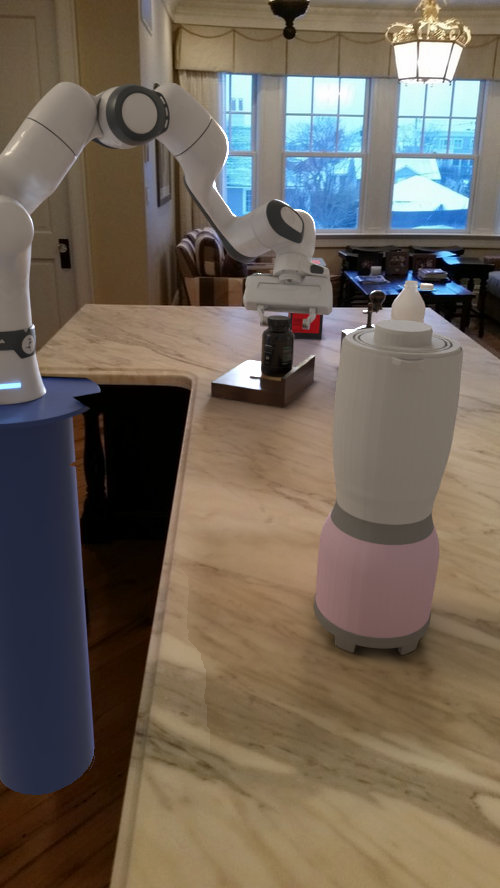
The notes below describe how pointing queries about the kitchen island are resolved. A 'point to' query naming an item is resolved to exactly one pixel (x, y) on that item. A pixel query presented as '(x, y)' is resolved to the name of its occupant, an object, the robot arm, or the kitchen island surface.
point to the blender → (387, 484)
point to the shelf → (264, 383)
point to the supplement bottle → (277, 347)
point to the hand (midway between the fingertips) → (284, 326)
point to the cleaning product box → (297, 318)
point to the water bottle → (410, 303)
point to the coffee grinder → (369, 311)
